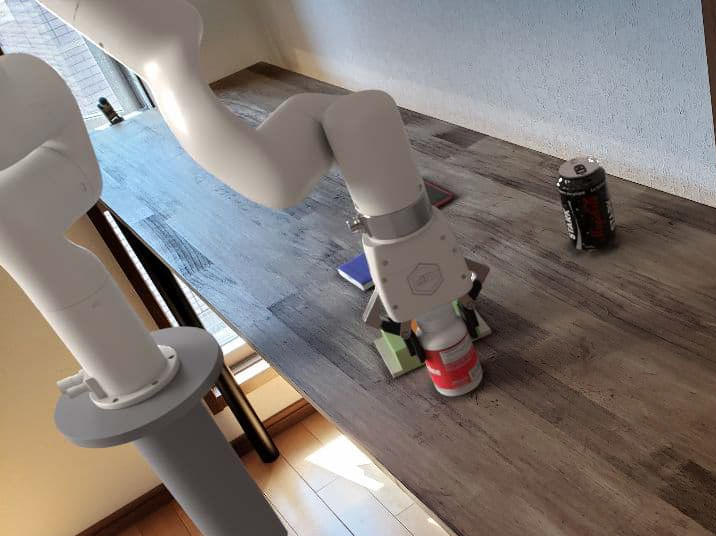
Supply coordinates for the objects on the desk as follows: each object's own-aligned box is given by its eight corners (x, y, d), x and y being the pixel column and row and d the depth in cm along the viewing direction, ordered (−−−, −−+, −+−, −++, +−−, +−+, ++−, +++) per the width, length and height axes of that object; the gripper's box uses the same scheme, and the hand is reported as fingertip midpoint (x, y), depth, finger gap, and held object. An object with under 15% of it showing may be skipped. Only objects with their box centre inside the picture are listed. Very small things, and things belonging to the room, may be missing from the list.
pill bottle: (431, 376, 106) (402, 306, 99) (476, 359, 106) (451, 287, 99) (442, 405, 101) (413, 333, 94) (489, 386, 102) (464, 313, 95)
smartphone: (419, 214, 138) (379, 192, 147) (420, 217, 138) (380, 195, 148) (453, 194, 140) (412, 174, 150) (454, 197, 141) (413, 177, 150)
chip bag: (394, 378, 107) (384, 356, 105) (375, 344, 114) (365, 323, 112) (491, 333, 110) (484, 310, 107) (467, 302, 116) (460, 280, 114)
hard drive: (401, 228, 134) (336, 266, 129) (428, 243, 128) (361, 283, 124) (405, 236, 135) (340, 275, 130) (432, 251, 129) (365, 292, 125)
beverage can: (578, 261, 118) (560, 184, 110) (566, 239, 123) (548, 164, 115) (624, 246, 118) (610, 168, 110) (610, 224, 123) (595, 149, 115)
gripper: (328, 260, 84) (388, 392, 96) (483, 194, 87) (523, 330, 99) (312, 231, 89) (371, 359, 101) (458, 170, 93) (499, 301, 104)
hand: (445, 343), depth 100 cm, fingers closed on pill bottle, 6 cm apart
